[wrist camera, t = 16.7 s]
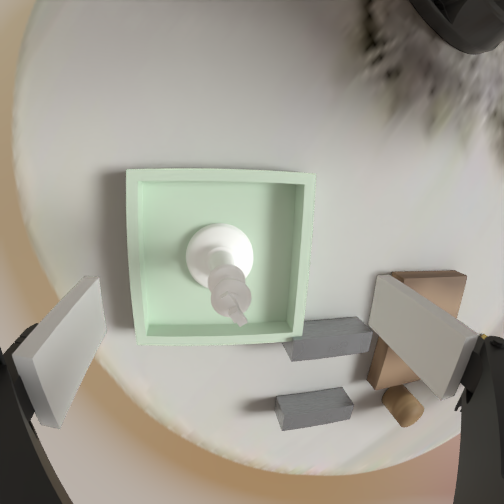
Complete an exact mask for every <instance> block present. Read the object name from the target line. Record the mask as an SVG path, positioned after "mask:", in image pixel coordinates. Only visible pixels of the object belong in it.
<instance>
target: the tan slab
mask: <svg viewBox="0 0 504 504" xmlns="http://www.w3.org/2000/svg"><path fill="white" fill-rule="evenodd" d="M392 277H394V278H396V279H397V280H399V281H400V282H402V283H403V284H405V285H406V286H408V287H410V288H411V289H413V290H414V291H416V292H417V293H419V294H420V295H422V296H423V297H425V298H426V299H428V300H429V301H431V302H432V303H434V304H435V305H437V306H438V307H440V308H441V309H443V310H444V311H446V312H447V313H449V314H450V315H452V316H453V317H455V318H457V315H458V311H459V308H460V304H461V300H462V296H463V292H464V288H465V284H466V280H467V276H466V275H464V274H462V273H460V272H457V271H455V270H451V271H405V272H392ZM417 380H421V379H420V378H419V377H418V376H417V375H416V374H415V372H414V371H413V370H412V369H411V368H410V367H409V366H408V365H407V364H406V363H405V362H404V361H403V360H402V359H401V358H400V357H399V356H398V355H397V354H396V353H395V352H394V351H393V350H392V349H391V348H390V346H389V345H388V344H387V343H386V342H385V341H384V340H383V339H382V338H381V337H380V336H378V340H377V344H376V348H375V352H374V355H373V359H372V363H371V366H370V370H369V373H368V377H367V381H368V382H369V383H370V384H371V386H372V387H373V388H374V389H375V390H379V389H384V388H388V387H393V386H397V385H401V384H405V383H409V382H413V381H417Z"/></svg>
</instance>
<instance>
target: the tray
mask: <svg viewBox="0 0 504 504" xmlns="http://www.w3.org/2000/svg"><path fill="white" fill-rule="evenodd" d="M315 189H316V174H314V173H301V172H286V171H269V170H247V169H210V168H158V169H126V226H127V249H128V265H129V279H130V290H131V301H132V310H133V319H134V327H135V335H136V342H137V345H149V346H207V345H239V344H259V343H275V342H289V341H292V337H297V336H302V333H303V324H304V316H305V307H306V298H307V288H308V278H309V268H310V257H311V245H312V233H313V219H314V205H315ZM215 223H225V224H230V225H233V226H235V227H237V228H238V229H240V230H241V231H242V232H243V233H244V234H245V235H246V236H247V237H248V239H249V240H250V243H251V245H252V249H253V265H252V268H251V271H250V273H249V274H248V276H247V277H246V278H245V280H246V283H245V284H246V285H247V286H248V288H249V290H250V292H251V303H250V306H249V308H248V309H247V310H246V311H245V312H244V313H243V314H244V315H245V317H246V318H247V321H248V323H246V324H245V325H243V326H241V327H239V325H238V324H237V322H236V323H234V322H233V321H232V319H231V318H230V317H225V316H222V315H220V314H218V313H217V312H216V311H215V310H214V308H213V307H212V304H211V292H210V290H209V289H208V288H206V287H204V286H202V285H200V284H199V283H198V282H197V281H196V280H195V279H194V278H193V277H192V275H191V274H190V272H189V269H188V267H187V263H186V250H187V246H188V244H189V241H190V240H191V238H192V237H193V235H194V234H195V233H196V232H197V231H199V230H200V229H202V228H203V227H205V226H207V225H210V224H215Z"/></svg>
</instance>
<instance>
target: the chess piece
mask: <svg viewBox="0 0 504 504" xmlns="http://www.w3.org/2000/svg"><path fill="white" fill-rule="evenodd" d="M186 263H187V267H188V269H189V272H190V274H191V275H192V277H193V278H194V279H195V280H196V281H197V282H198V283H199V284H200V285H202V286H204V287H206V288H208V289H209V290H210V292H211V304H212V307H213V308H214V310H215V311H216V312H217V313H218V314H220V315H222V316H225V317H230V318H231V319H232V321H233V322H234V323H236V322H237V324H238V325H239V327H241V326H243V325H245V324H246V323H248V321H247V318H246V317H245V315H244V314H243V313H244V312H245V311H246V310H247V309H248V308H249V306H250V303H251V292H250V290H249V288H248V286H247V285H246V284H245V283H246V280H245V278H246V277H247V276H248V274H249V273H250V271H251V268H252V265H253V249H252V245H251V243H250V240H249V239H248V237H247V236H246V235H245V234H244V233H243V232H242V231H241V230H240V229H238V228H237V227H235V226H233V225H230V224H225V223H215V224H210V225H207V226H205V227H203V228H202V229H200V230H199V231H197V232H196V233H195V234H194V235H193V237H192V238H191V240H190V241H189V244H188V246H187V250H186Z"/></svg>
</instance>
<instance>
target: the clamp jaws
mask: <svg viewBox="0 0 504 504" xmlns="http://www.w3.org/2000/svg"><path fill="white" fill-rule="evenodd" d="M372 334H373V331H372V330H371V329H370V328H369V327H368V326H367V325H366V324H364V323H363V322H362V321H361V320H360V319H359V318H358V317H350V318H339V319H327V320H314V321H304V324H303V333H302V336H297V337H292V341H289V342H282V344H283V346H284V348H285V350H286V352H287V354H288V356H289V358H290V360H291V362H292V361H302V360H312V359H320V358H329V357H336V356H344V355H351V354H357V353H364V352H368V351H369V347H370V343H371V338H372ZM353 407H354V404H353V402H352V401H351V399H350V398H349V396H348V395H347V393H346V392H345V390H344V389H343V387H340V388H334V389H328V390H322V391H315V392H308V393H300V394H292V395H284V396H276V404H275V413H276V416H277V418H278V421H279V424H280V427H281V430H282V431H285V430H292V429H299V428H305V427H311V426H317V425H323V424H328V423H333V422H338V421H343V420H347V419H350V417H351V413H352V410H353Z"/></svg>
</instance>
